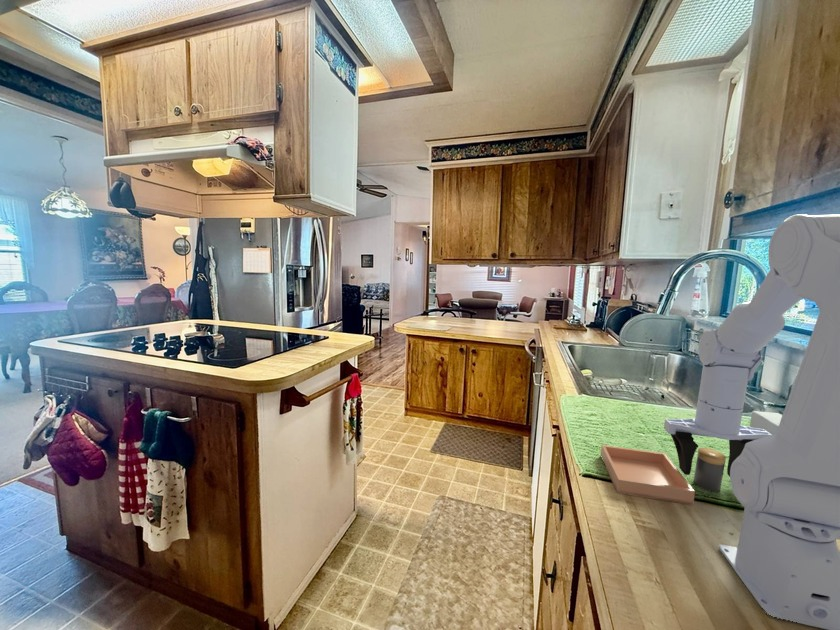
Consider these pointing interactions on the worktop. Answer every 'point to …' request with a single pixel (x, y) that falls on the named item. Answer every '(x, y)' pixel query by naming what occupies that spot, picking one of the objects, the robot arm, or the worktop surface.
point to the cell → (709, 469)
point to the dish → (646, 475)
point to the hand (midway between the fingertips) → (708, 474)
